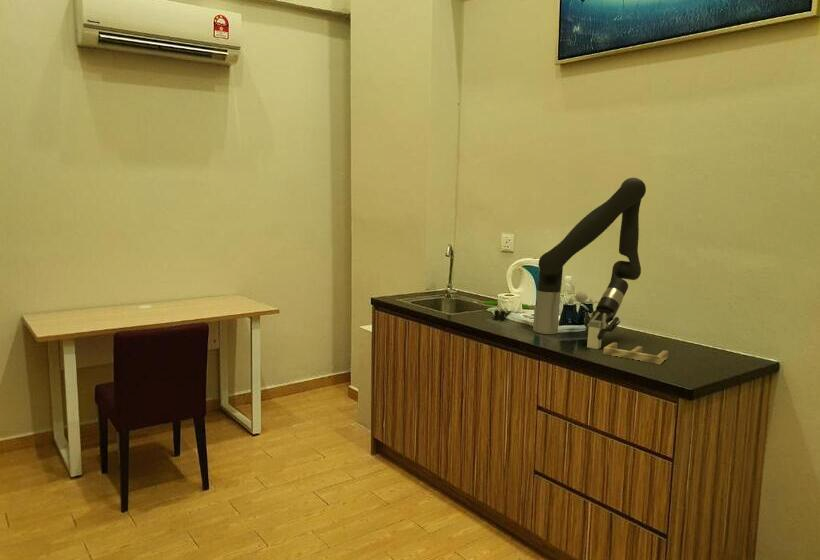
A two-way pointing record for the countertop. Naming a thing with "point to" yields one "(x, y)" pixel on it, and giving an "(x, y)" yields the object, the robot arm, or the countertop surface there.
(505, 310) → the figurine
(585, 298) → the toy
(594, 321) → the cream lidded container
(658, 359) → the comb rack
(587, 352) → the countertop surface
